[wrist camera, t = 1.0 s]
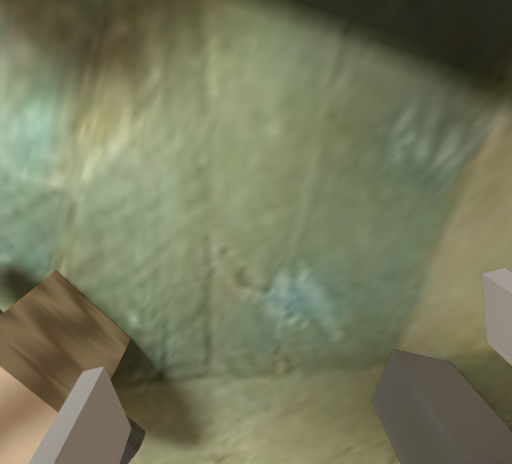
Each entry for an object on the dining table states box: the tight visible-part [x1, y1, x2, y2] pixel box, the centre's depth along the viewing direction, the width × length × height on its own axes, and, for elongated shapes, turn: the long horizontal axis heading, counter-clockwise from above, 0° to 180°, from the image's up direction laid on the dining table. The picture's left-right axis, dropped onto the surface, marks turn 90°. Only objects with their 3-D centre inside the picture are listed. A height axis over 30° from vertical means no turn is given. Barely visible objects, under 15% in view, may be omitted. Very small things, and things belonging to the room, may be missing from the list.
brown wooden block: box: [0, 270, 131, 464], centre depth 33 cm, size 10×8×12 cm
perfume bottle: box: [372, 349, 512, 464], centre depth 34 cm, size 7×7×18 cm
